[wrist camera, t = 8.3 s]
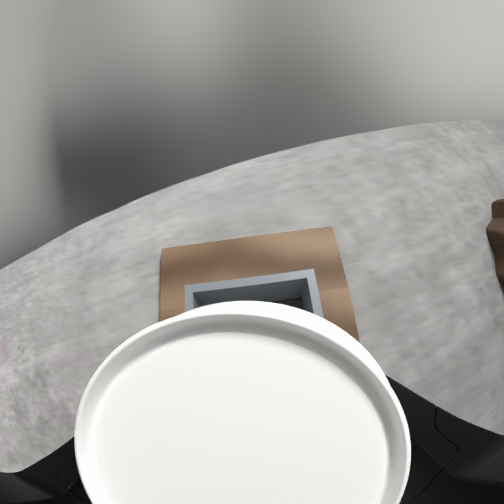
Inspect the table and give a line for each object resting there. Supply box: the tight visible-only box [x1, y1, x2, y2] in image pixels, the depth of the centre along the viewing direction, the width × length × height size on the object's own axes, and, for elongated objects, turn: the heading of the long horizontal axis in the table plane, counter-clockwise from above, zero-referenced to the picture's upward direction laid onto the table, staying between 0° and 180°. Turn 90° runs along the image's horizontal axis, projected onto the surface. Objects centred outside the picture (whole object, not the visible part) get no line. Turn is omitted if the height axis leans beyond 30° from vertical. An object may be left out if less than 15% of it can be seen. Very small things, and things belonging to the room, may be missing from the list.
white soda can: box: [74, 301, 411, 504], centre depth 8 cm, size 6×6×12 cm
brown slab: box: [160, 227, 360, 343], centre depth 21 cm, size 20×16×1 cm
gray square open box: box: [185, 269, 324, 318], centre depth 19 cm, size 9×9×4 cm
